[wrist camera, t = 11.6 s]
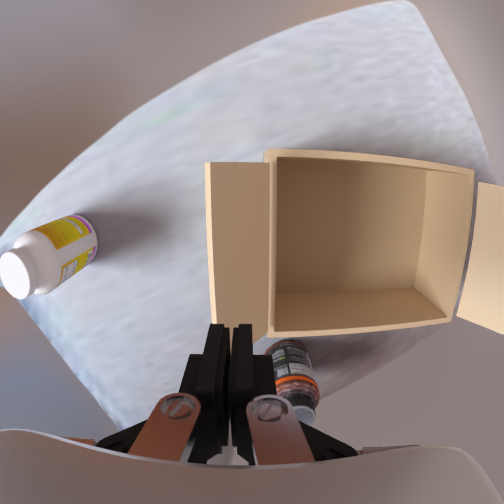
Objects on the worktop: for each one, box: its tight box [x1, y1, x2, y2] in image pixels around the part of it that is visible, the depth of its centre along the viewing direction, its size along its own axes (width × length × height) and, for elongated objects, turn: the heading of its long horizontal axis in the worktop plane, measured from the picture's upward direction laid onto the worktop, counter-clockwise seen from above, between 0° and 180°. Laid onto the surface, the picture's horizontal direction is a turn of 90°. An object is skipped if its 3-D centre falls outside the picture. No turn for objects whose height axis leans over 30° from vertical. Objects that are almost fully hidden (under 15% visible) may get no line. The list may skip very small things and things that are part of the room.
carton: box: [264, 149, 474, 338], centre depth 28 cm, size 16×20×9 cm
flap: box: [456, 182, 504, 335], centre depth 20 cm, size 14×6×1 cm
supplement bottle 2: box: [264, 341, 320, 425], centre depth 32 cm, size 6×6×11 cm
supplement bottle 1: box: [0, 215, 98, 299], centre depth 26 cm, size 7×7×13 cm
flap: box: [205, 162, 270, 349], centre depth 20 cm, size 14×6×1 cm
